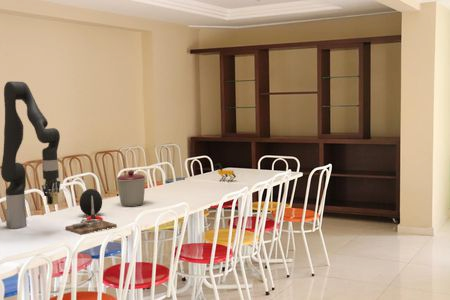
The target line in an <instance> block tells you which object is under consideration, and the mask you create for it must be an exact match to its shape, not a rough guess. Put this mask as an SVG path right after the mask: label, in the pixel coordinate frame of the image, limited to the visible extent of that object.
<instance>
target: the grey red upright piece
mask: <svg viewBox="0 0 450 300" xmlns="http://www.w3.org/2000/svg"><path fill="white" fill-rule="evenodd" d="M91 207H92V210H91V216H87V217H86V220H92V219H94V220H103V217H102V216H100V215H95V214H94V203H93V196H91ZM103 221H104V220H103Z"/></svg>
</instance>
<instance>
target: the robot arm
mask: <svg viewBox="0 0 450 300" xmlns="http://www.w3.org/2000/svg"><path fill="white" fill-rule="evenodd" d="M3 99H4V100H3V101H4V130H3V132H4V133H3V150H2V151H3V155H2V162H1V168H0V175H1V178H2V179H3V181H4V182H6V183H9V185H8V187H6V188H5V199H6V200H5V203H6V208H5V210H4V211H5V220H6V221H5V222H6V223H5V224H6V228H9V229H21V228H24V227H27V226H28V223H27V207H26V194H25V189H26V187H27V186H26V185H27V183H26V182H27V180H26V176H27V175H26V169H25V167H24V165H23V164H22V163H21V162H17V155H18V154H17V153H18V151H19V149H20V147H21V145H22V142H23V140H24V124H23V121H22V119H21V118H20V116H19V114H18V112H17V106H16V105H17V103H16V102H17V100H18V101H23V102H24V104H25V106H26V116H27V119H28V120H29V123H31V125H32V126H33V128H34V131H35V134H36V138H37V139H38V141H39V142H40V143H42V144H48V145H47V147H44V148H42V150H41V151H42V152H41V154H42V156H41V157H42V163H41V164H42V165H41V166H42V178H43V180H44V181H45V183H44V184H42V185H41V188H42V192H43V196H44V197H47V200H46V203H47V202H48V204H52V192H53V191H55V192H58V194H59V193H60V189H61V180H58V179H59V178H60V175H59V174H60V172H59V171H60V170H59V161H58V148H59V144H60V139H61V135H60V131H59V130H58V129H57V128H55V127H52V128H50V127H49V128H47V127H48V124H49V123H48V119H46V117H45V115H44V114H43V112H42V111H41V109H40V108H39V107H38V104H37V102H36V100H35V97H34V95H33V93H32V91H31V89H30V87H29V85H28V83H26V82H24V81H11V80H10V81H7V82H6V83H5V84H4V88H3ZM49 192H50V193H49Z"/></svg>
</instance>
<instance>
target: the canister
mask: <svg viewBox="0 0 450 300" xmlns="http://www.w3.org/2000/svg"><path fill="white" fill-rule="evenodd" d="M146 179H147V176H145V175H144V174H138V173H135V172H134V171H133V170H132V169H131V170H128V172H127V174H123V175H119V176H117V177H116V178H115V181H116V183H117V190H118V194H119V195H118V196H119V200H120V203H121V205H122V206H124V207H136V206H137V207H138V206H141V205H143V203H144V200H145V187H146Z"/></svg>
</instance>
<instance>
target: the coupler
mask: <svg viewBox="0 0 450 300" xmlns="http://www.w3.org/2000/svg"><path fill="white" fill-rule="evenodd" d="M49 193H50V192H49ZM58 194H59V193H58V192H55V191H53V192H52V204H48V202H47V197H46V196H45V197H46V198H45V199H46V205H48V206H55V205H57V204H58V205H59V196H58Z"/></svg>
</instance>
